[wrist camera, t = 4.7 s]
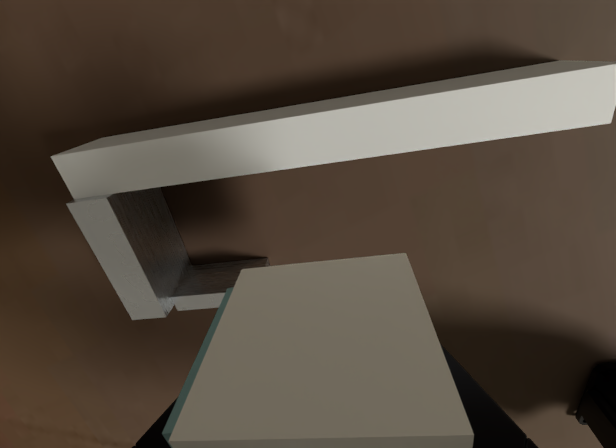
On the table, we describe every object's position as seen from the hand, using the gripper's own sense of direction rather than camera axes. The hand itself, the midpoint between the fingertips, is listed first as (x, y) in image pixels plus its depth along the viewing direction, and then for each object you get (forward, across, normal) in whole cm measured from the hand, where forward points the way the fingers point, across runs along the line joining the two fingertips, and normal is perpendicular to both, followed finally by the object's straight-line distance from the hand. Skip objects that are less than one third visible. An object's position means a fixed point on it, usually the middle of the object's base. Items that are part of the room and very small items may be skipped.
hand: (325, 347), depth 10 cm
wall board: (+9, 0, -5) cm, 11 cm away
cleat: (+9, +8, 0) cm, 12 cm away
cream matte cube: (+1, 0, 0) cm, 1 cm away
